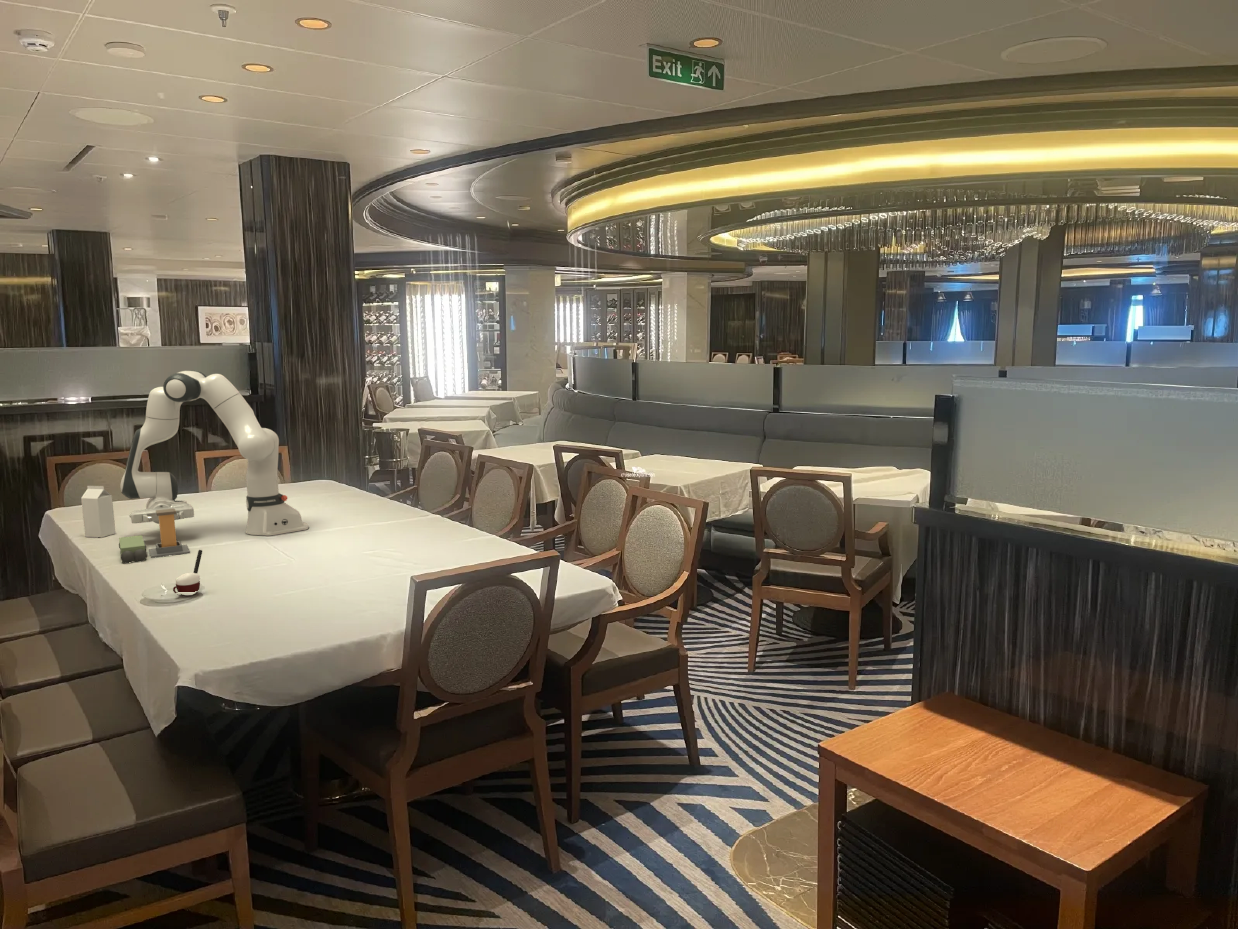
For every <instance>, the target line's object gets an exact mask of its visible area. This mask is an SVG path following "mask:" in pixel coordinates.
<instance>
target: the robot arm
mask: <svg viewBox="0 0 1238 929" xmlns="http://www.w3.org/2000/svg"><path fill="white" fill-rule="evenodd" d="M163 382H164V383H163V385H162V386H158V387H155V388H153V389H151V390H150V392H149V394H148V398H147V402H146V408H145V409H146V410H145V420H144V422H143V425H142V427H140V428H139V429H136V431H135V432H134V435H133V438H132V442H131V444H130V449H129V452H128V456H127V461H126V466H125V470H124V473H123V475H122V478H121V481H120V485H119V486H120V487H119V488H120V492H121V494H122V495H123V496H125V497H126V498H127V499H129V500H135V499H142V498H143V499H148V500H147V503H146V505H145V507H146V509H137V510H133V511H131V512H130V513H129V515H128V516H129V518H130V519H131V520H130V521H131V523H132V524H143V523H155V524H156V525H157V524H158V525H159V517H158V516H157V515H156V510H163V509H173V508H174V509H175V510H176V514H174V521H178V520H183V519H191V518H195V511H194V510H195V509H194V507H193V505H192V504H190V503H188V502H187V500H176V499H177V498H178V492H179V489H178V488H179V487H178V480H177V478H176V476H174V474H173V473H171V472H169V471H155V472H154V471H139V466H140V462H141V458H142V455H143V452H144V450H145V449H146V448H148V447H150V446H153V445H155V444H159V443H162V442H165V441H167V440H169V439H171V438H173V437H174V436H175V435H176V434H177V433H178V430H179V426H180V412H181V411H180V410H181V405H182V404H183V403H185V402H192V401H193V402H194V401H196V400H198V399H203V400H205V401H206V402H207V403H208V405H209V406H210V407H211V409H212V410H213V411H214V412H215V413H216V415H217V416H218V418H219V419H220V420H221V422H222V423H223V424H224V426H225V427H226V429H227V430H228V432H229V434H230V435H231V438H232V440H233V441H234V443H235V445H236V446H237V448H238V452H239V454H240V456H241V457H243V459H246V460H247V468H246V474H245V480H246V483H245V484H246V491H247V493H246V496H245V497H246V500H245V502H246V510H247V524H246V529H245V534H247V535H250V536H251V535H252V536H268V537H269V536H276V535H282V534H289V533H293V532H300V531H306V530H308V529H309V523H307V522H305V521H303V519H302V516H301V513H300V511H298V510H297V509H296V508H294V507H293V506H291V505H290V504H288V503H286V501H287V500H288V496H287V495H285V494H283V493H280V492H279V481H278V480H279V478H278V466H279V445H280V439H279V436H278V434H277V433H276V432H275V431H273V430H272V429H270V428H266V427H262V426H261V425H260V423H259V421H258V419H257V417H256V415H255V411H254V410H253V408H252V407H251V405H250V404H249V403H248V402H247V401H246V399H245V398H244V397H243V395H242V394H241V393H240V391H239V390H238V389H237V387H236V386H234V384H232V382H231V381H230V380H229V379H227V377H226V376H224V375H222V374H221V373H212V374H209V375H206V374H205V373H203V372H202V371H199V370H194V369H192V370H181V371H178V372H175V373H172V374H170V375H169V376H168V377H167V378H166V379H165V380H164V381H163Z"/></svg>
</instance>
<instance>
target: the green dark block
mask: <svg viewBox="0 0 1238 929" xmlns="http://www.w3.org/2000/svg"><path fill="white" fill-rule="evenodd" d="M118 541H119V542H118V547H119V551H120V561H121V564H130V563H129V562H131V563H133V562H132V561H135V562H138V561H141V562H144V561H146V560H147V557H148V553H147V545H146V541H145V540H144V538H143V535H142V534H141V535H140V534H139V535H131V536H122V537H119V538H118ZM123 562H124V563H123Z"/></svg>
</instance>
